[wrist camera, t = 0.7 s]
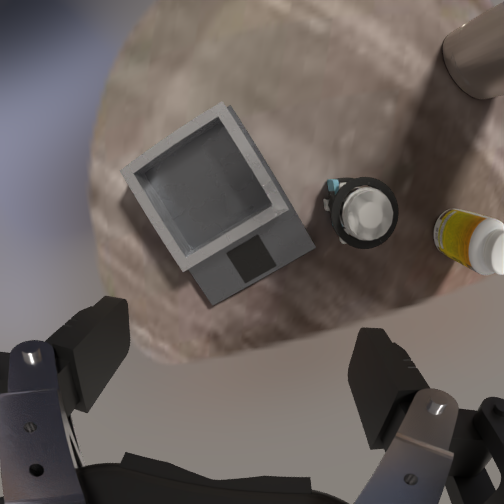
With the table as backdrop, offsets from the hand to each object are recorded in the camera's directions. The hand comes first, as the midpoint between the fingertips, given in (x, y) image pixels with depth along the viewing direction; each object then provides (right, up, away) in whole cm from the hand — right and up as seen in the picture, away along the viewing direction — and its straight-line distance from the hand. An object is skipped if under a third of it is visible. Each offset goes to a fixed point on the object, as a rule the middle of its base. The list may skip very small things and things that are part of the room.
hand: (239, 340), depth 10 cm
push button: (+9, +7, +21) cm, 24 cm away
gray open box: (-3, +7, +21) cm, 23 cm away
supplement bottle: (+23, +5, +21) cm, 32 cm away
